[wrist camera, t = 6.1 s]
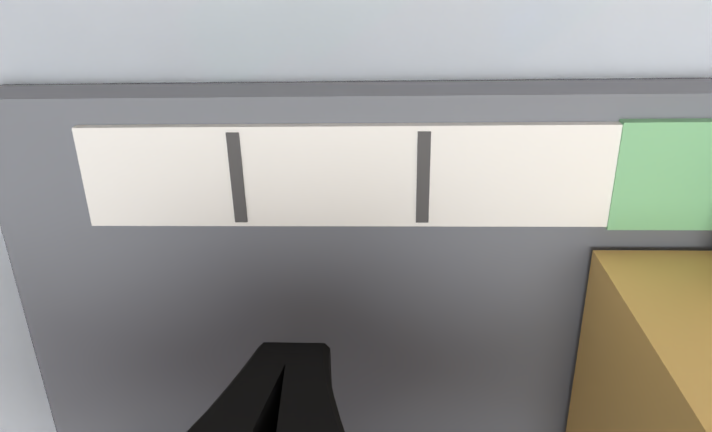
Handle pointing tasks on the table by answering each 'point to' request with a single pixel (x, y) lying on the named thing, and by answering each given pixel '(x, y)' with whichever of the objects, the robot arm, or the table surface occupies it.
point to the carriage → (645, 344)
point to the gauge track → (337, 237)
